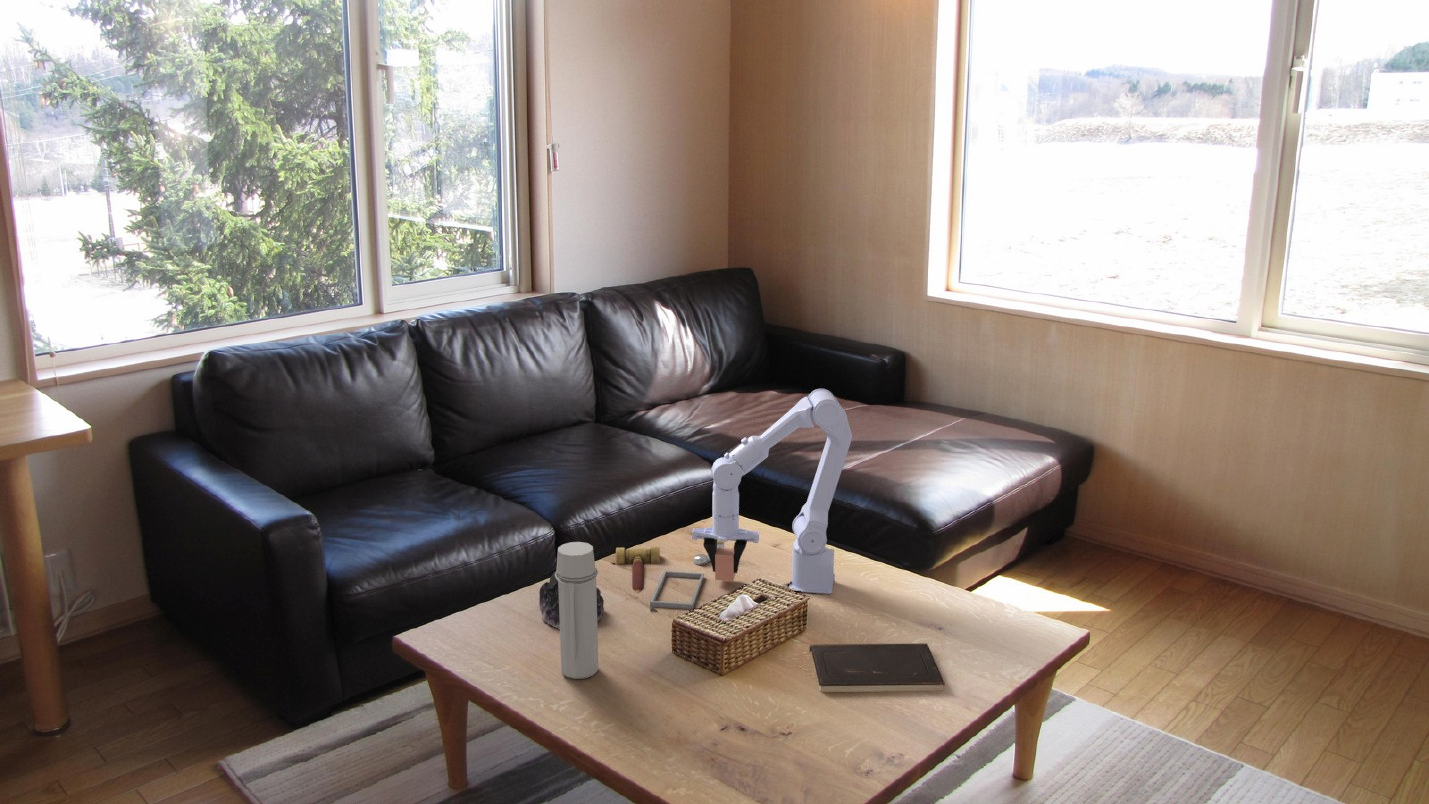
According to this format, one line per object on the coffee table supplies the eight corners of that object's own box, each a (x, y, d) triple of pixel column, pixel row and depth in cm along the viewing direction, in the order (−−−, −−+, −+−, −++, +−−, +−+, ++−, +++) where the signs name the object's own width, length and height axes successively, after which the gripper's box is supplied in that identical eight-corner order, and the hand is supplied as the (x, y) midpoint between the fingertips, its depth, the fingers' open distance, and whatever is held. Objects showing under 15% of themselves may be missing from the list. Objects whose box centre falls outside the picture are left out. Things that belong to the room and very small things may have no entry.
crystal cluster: (605, 632, 229) (609, 586, 227) (538, 632, 226) (541, 585, 225) (601, 608, 242) (604, 564, 240) (537, 607, 239) (540, 563, 238)
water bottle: (564, 661, 216) (559, 539, 209) (604, 663, 215) (601, 541, 208) (552, 685, 207) (547, 559, 200) (594, 687, 206) (590, 561, 199)
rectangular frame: (704, 582, 250) (704, 573, 250) (692, 614, 235) (692, 604, 235) (664, 580, 252) (664, 570, 251) (650, 611, 236) (650, 601, 236)
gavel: (661, 587, 241) (614, 588, 241) (661, 606, 243) (615, 607, 242) (659, 543, 261) (616, 544, 260) (659, 561, 263) (616, 561, 262)
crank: (699, 566, 256) (699, 547, 255) (691, 562, 258) (691, 543, 257) (728, 557, 261) (728, 539, 260) (720, 553, 263) (720, 535, 262)
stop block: (735, 573, 249) (735, 548, 247) (733, 581, 245) (733, 555, 243) (717, 572, 249) (717, 547, 248) (715, 580, 246) (715, 554, 244)
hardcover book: (944, 694, 206) (945, 683, 205) (819, 695, 205) (819, 684, 204) (925, 652, 221) (926, 641, 220) (809, 653, 220) (809, 643, 220)
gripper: (689, 517, 240) (689, 576, 244) (756, 521, 238) (756, 580, 242) (694, 505, 247) (695, 563, 251) (760, 509, 245) (759, 566, 249)
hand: (725, 570), depth 247 cm, fingers closed on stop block, 4 cm apart
